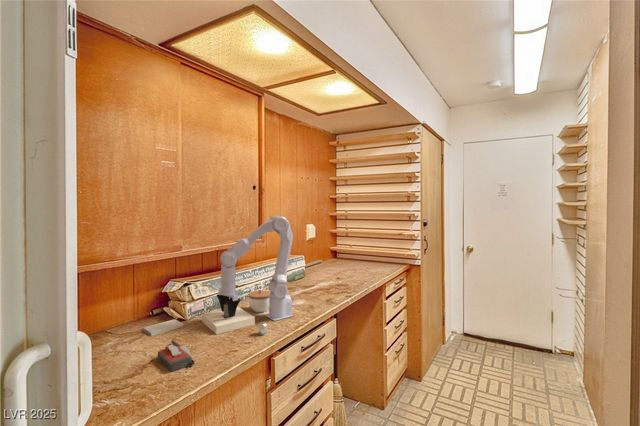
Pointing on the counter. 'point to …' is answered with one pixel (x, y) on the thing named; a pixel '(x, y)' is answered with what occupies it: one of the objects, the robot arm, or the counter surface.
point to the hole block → (227, 321)
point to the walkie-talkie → (175, 357)
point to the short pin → (262, 328)
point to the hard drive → (162, 327)
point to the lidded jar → (259, 300)
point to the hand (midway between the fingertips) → (228, 313)
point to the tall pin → (226, 311)
